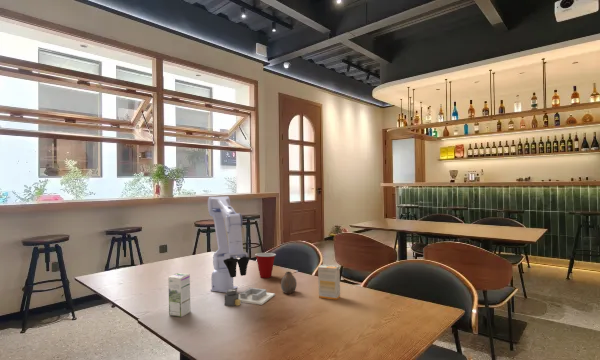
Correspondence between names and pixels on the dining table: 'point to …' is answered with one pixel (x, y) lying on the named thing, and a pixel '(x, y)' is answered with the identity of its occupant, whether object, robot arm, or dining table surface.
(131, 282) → the dining table surface
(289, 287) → the vase
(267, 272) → the plastic cup
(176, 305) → the syrup box
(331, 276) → the supplement box
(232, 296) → the knob
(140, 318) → the dining table surface
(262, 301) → the hub panel
